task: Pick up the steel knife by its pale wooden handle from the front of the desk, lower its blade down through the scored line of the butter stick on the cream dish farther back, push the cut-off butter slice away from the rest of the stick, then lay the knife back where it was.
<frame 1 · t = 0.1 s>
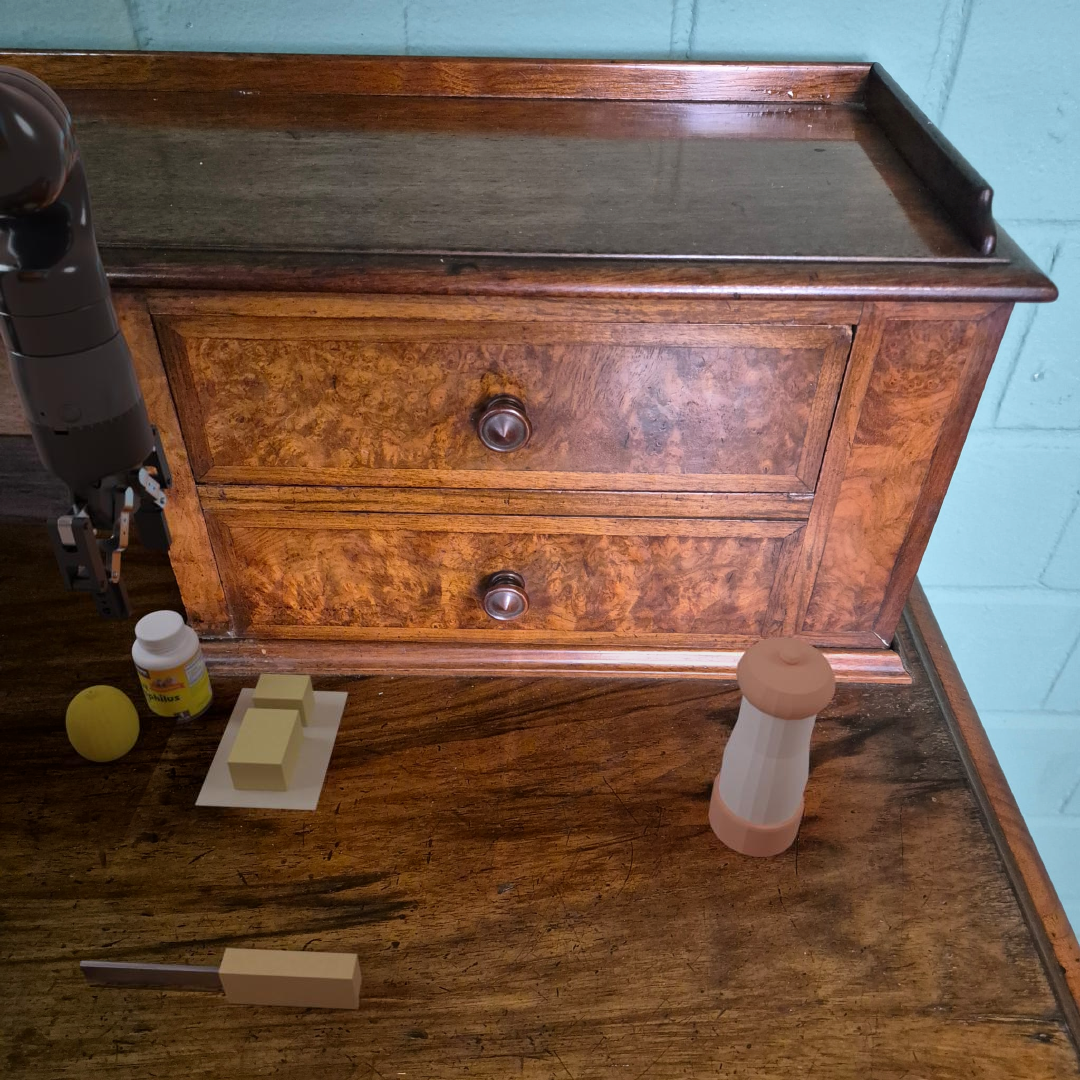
hand: (139, 580, 74), 18 cm above the table, tool pointing down, fingers open, 8 cm apart
butter slice: (287, 713, 86), point 1 cm above the table, touching butter dish
butter dish: (277, 750, 84), on the table
supplement bottle: (184, 708, 88), on the table
knife: (296, 993, 66), on the table
pepper shaker: (752, 821, 79), on the table
lemon: (115, 757, 83), on the table
butter block: (270, 762, 82), point 1 cm above the table, touching butter dish
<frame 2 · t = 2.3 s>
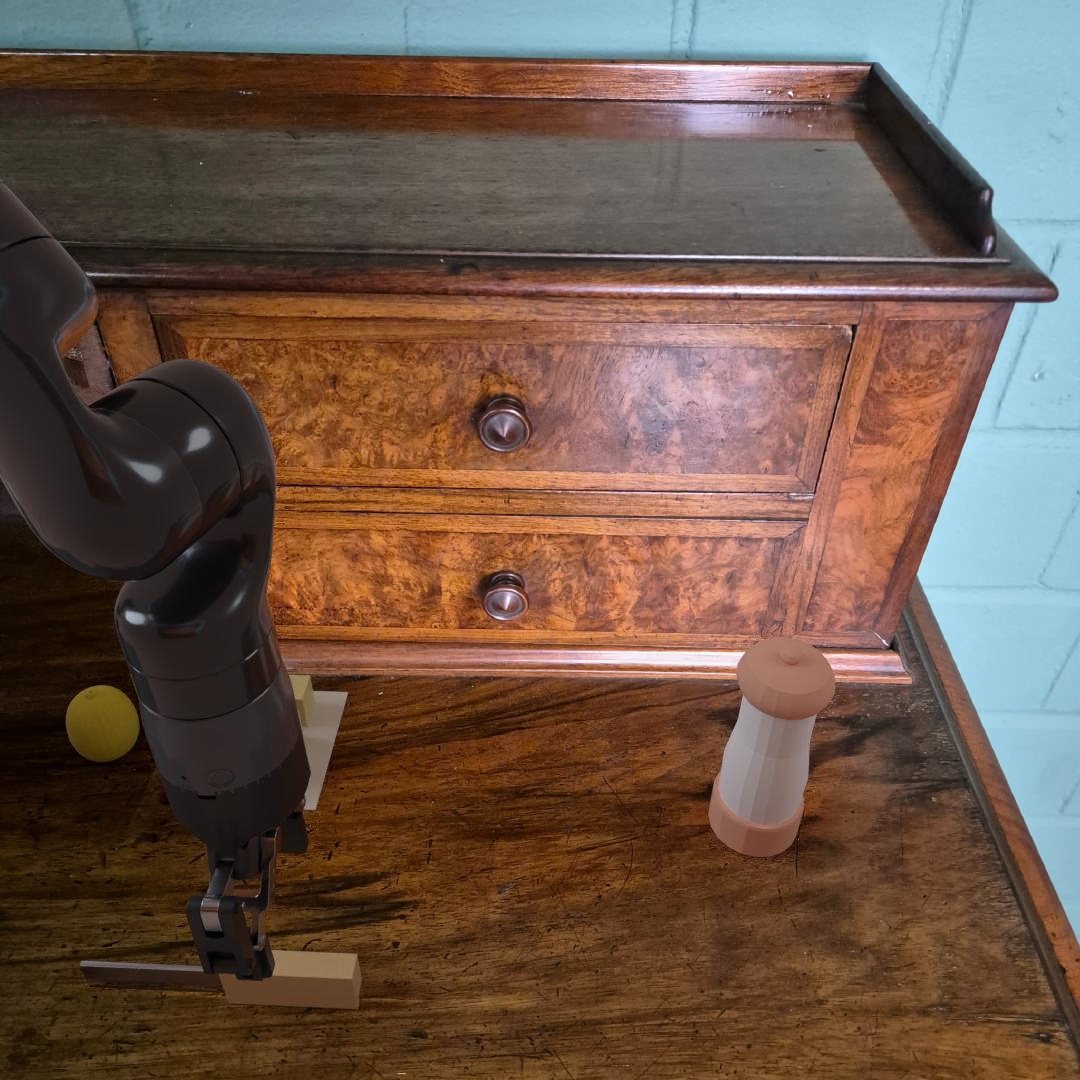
hand: (275, 907, 60), 11 cm above the table, tool pointing down, fingers open, 8 cm apart
nothing on the table moved.
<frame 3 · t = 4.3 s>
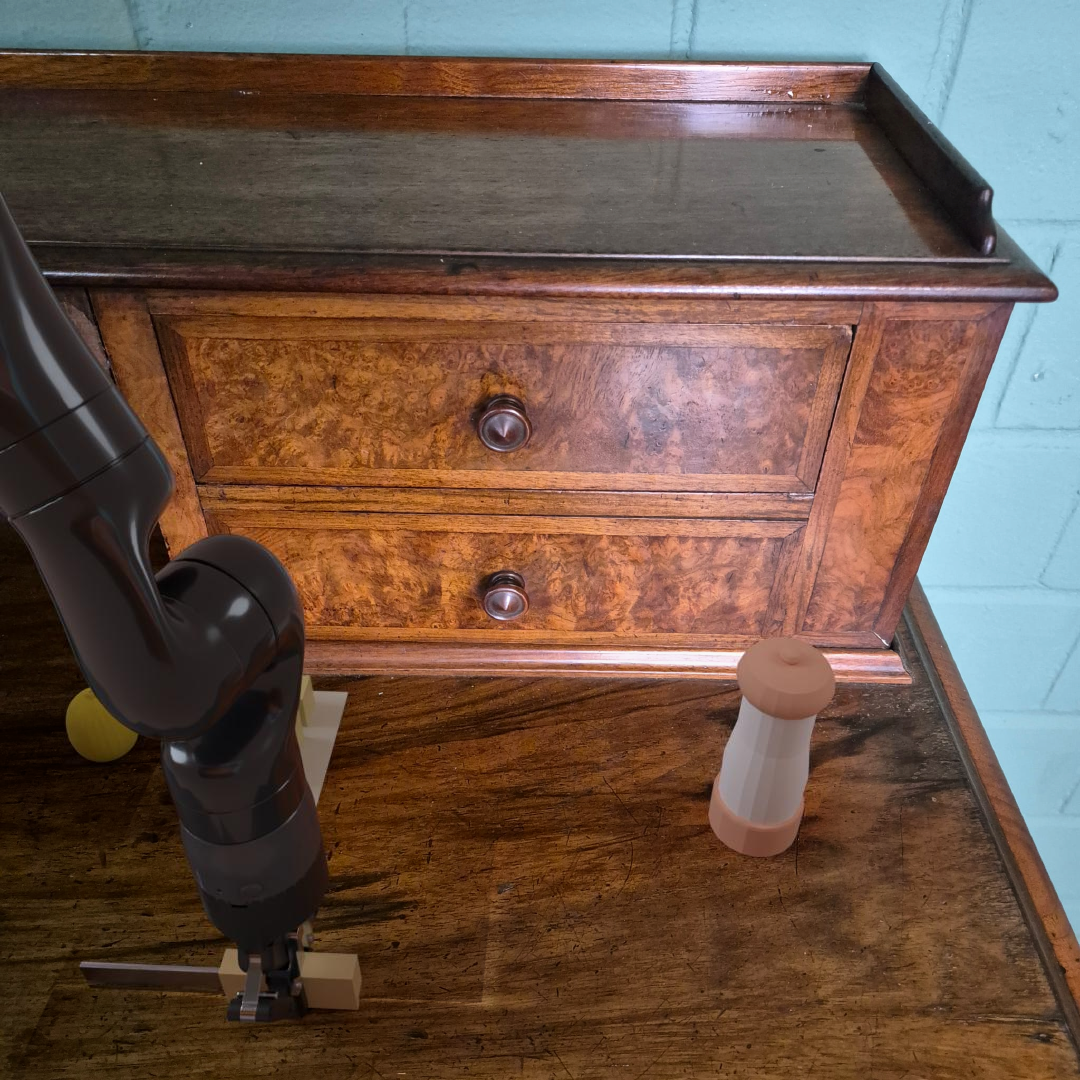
hand: (296, 994, 66), 0 cm above the table, tool pointing down, fingers closed on knife, 2 cm apart
knife: (296, 994, 66), on the table, touching gripper
everything else where it was.
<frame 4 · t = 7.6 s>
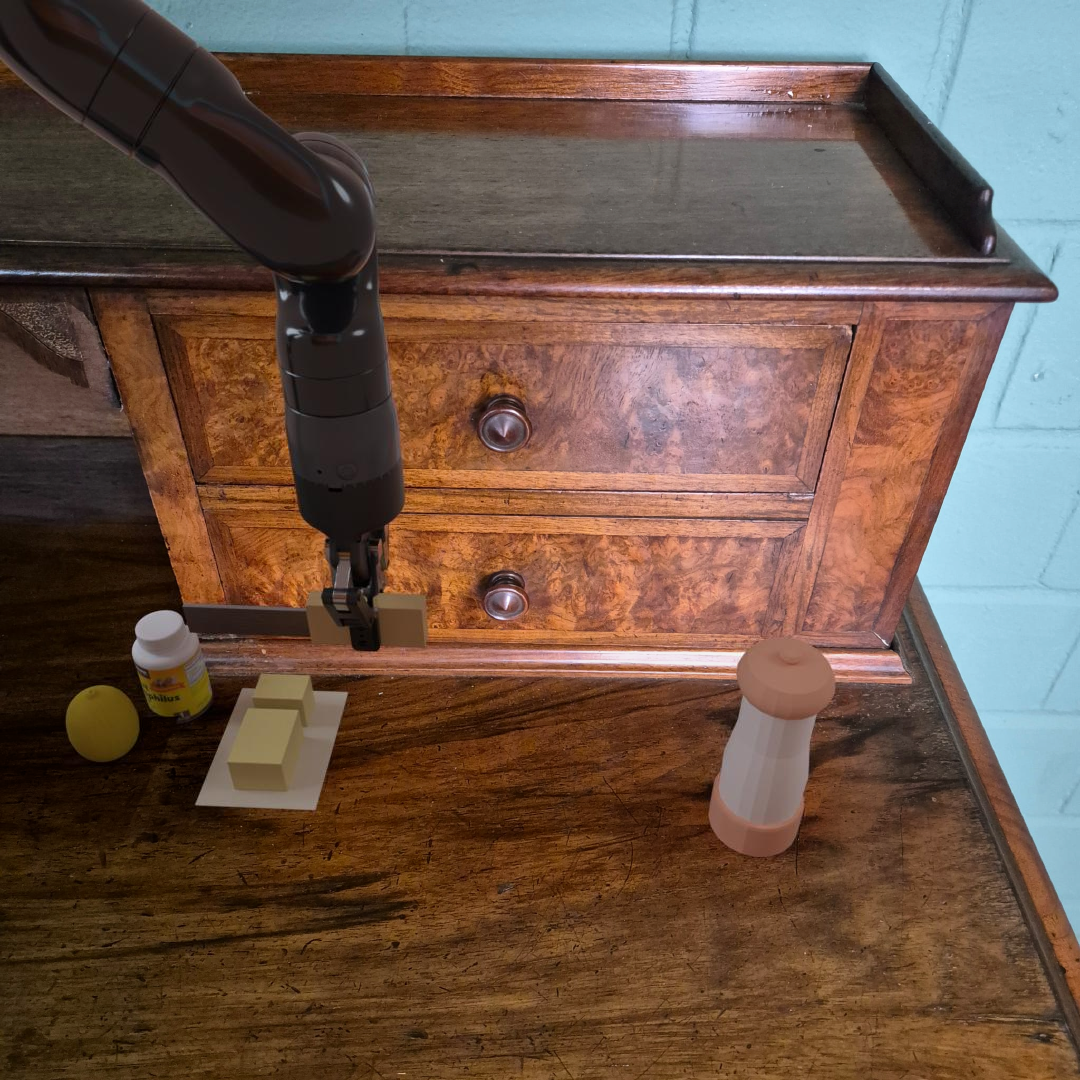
hand: (370, 637, 75), 14 cm above the table, tool pointing down, fingers closed on knife
knife: (370, 638, 75), point 14 cm above the table, touching gripper
everything else where it was.
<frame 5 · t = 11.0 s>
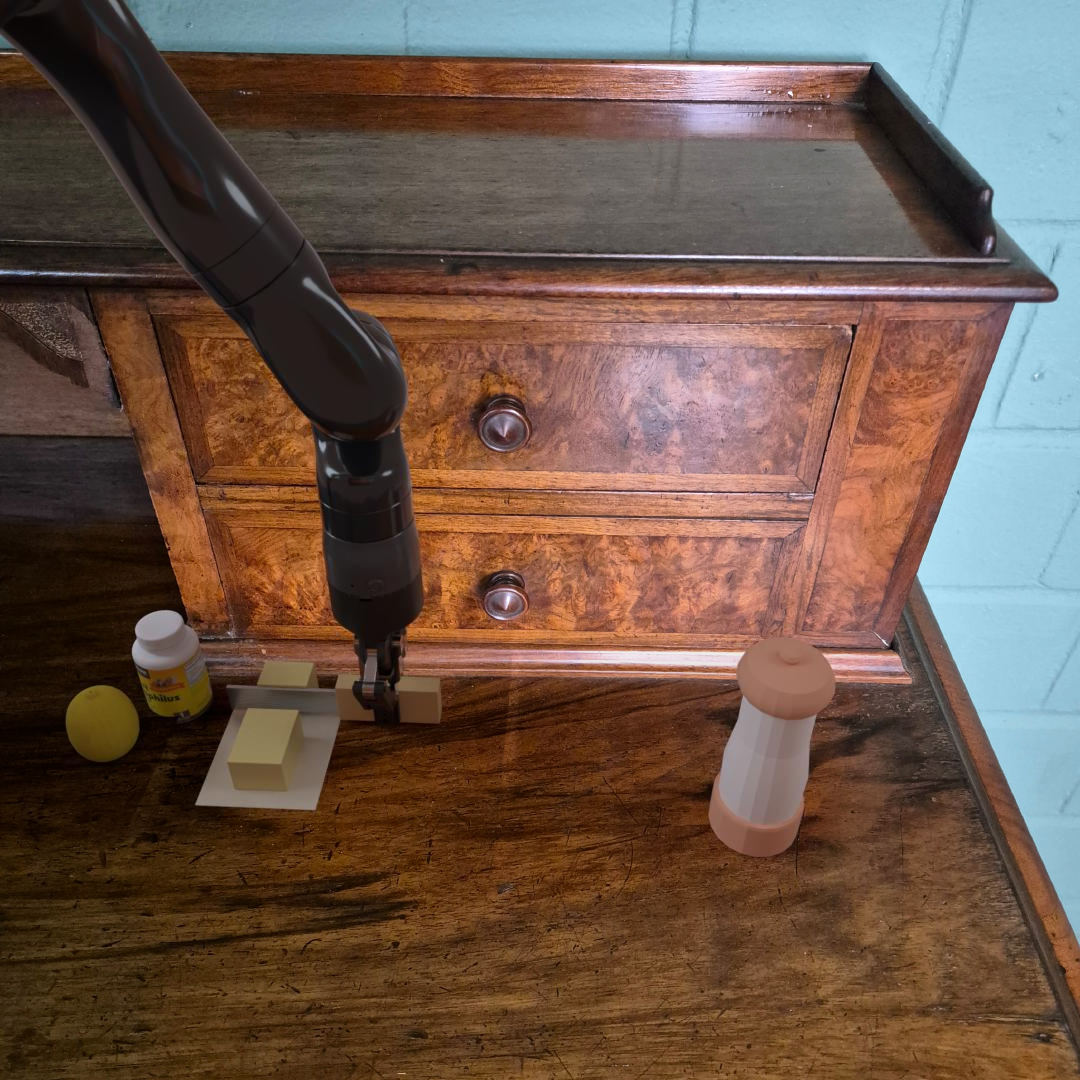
hand: (390, 713, 86), 1 cm above the table, tool pointing down, fingers closed on knife, 2 cm apart
butter slice: (291, 700, 88), point 1 cm above the table, touching knife
knife: (391, 714, 86), point 1 cm above the table, touching butter slice, gripper
everything else where it was.
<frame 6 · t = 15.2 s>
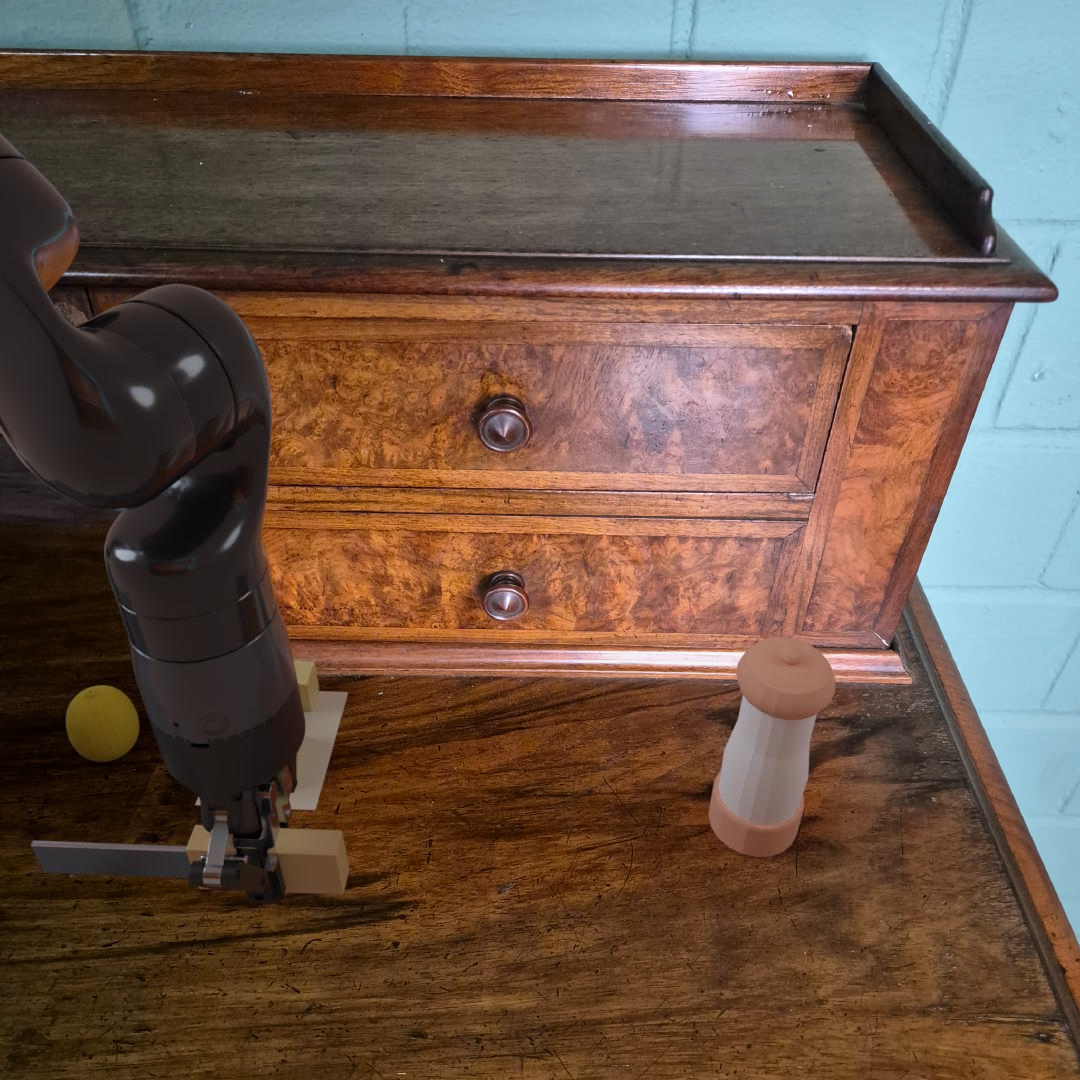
hand: (272, 878, 59), 13 cm above the table, tool pointing down, fingers closed on knife
butter slice: (291, 699, 88), point 1 cm above the table, touching butter dish
knife: (274, 879, 59), point 13 cm above the table, touching gripper
everything else where it was.
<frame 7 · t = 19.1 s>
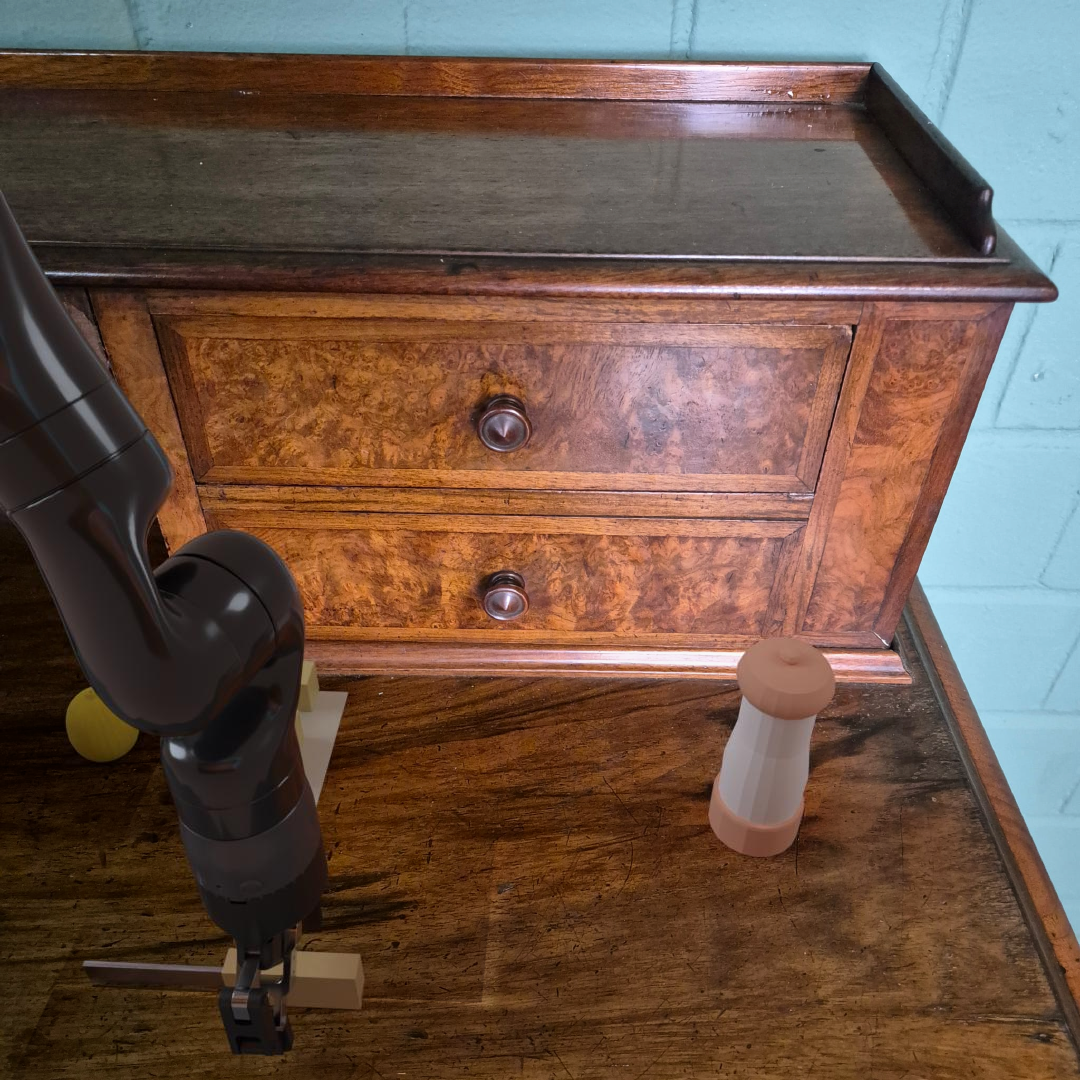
hand: (293, 983, 65), 1 cm above the table, tool pointing down, fingers open, 8 cm apart
knife: (299, 994, 66), on the table
everything else where it was.
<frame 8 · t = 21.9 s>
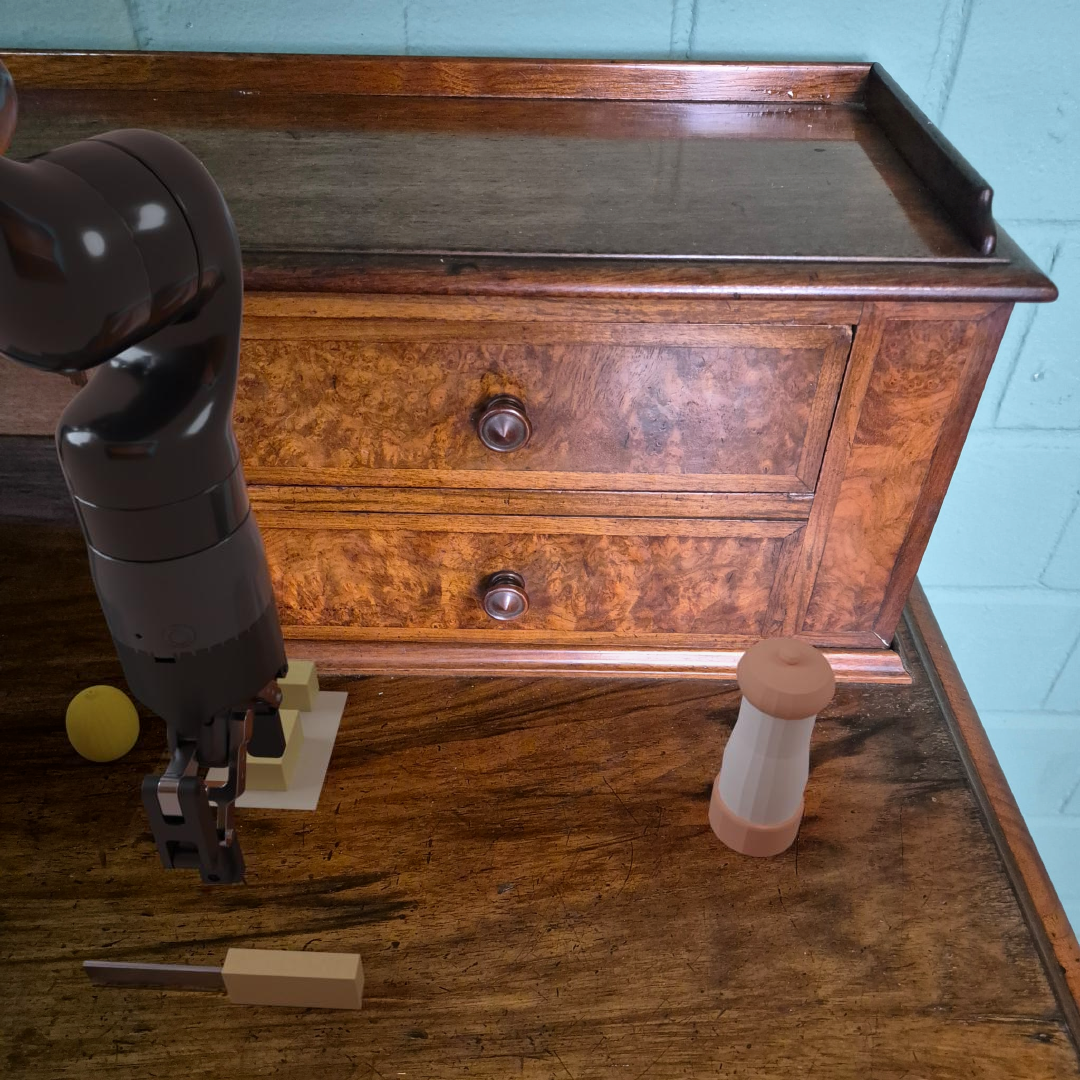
hand: (247, 811, 54), 20 cm above the table, tool pointing down, fingers open, 8 cm apart
nothing on the table moved.
at the end: butter slice 0.7 cm from the target spot on the table beside the butter block, resting on butter dish; butter block moved 0.0 cm from its start; knife inside the target area (0.4 cm from its centre), on the table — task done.
